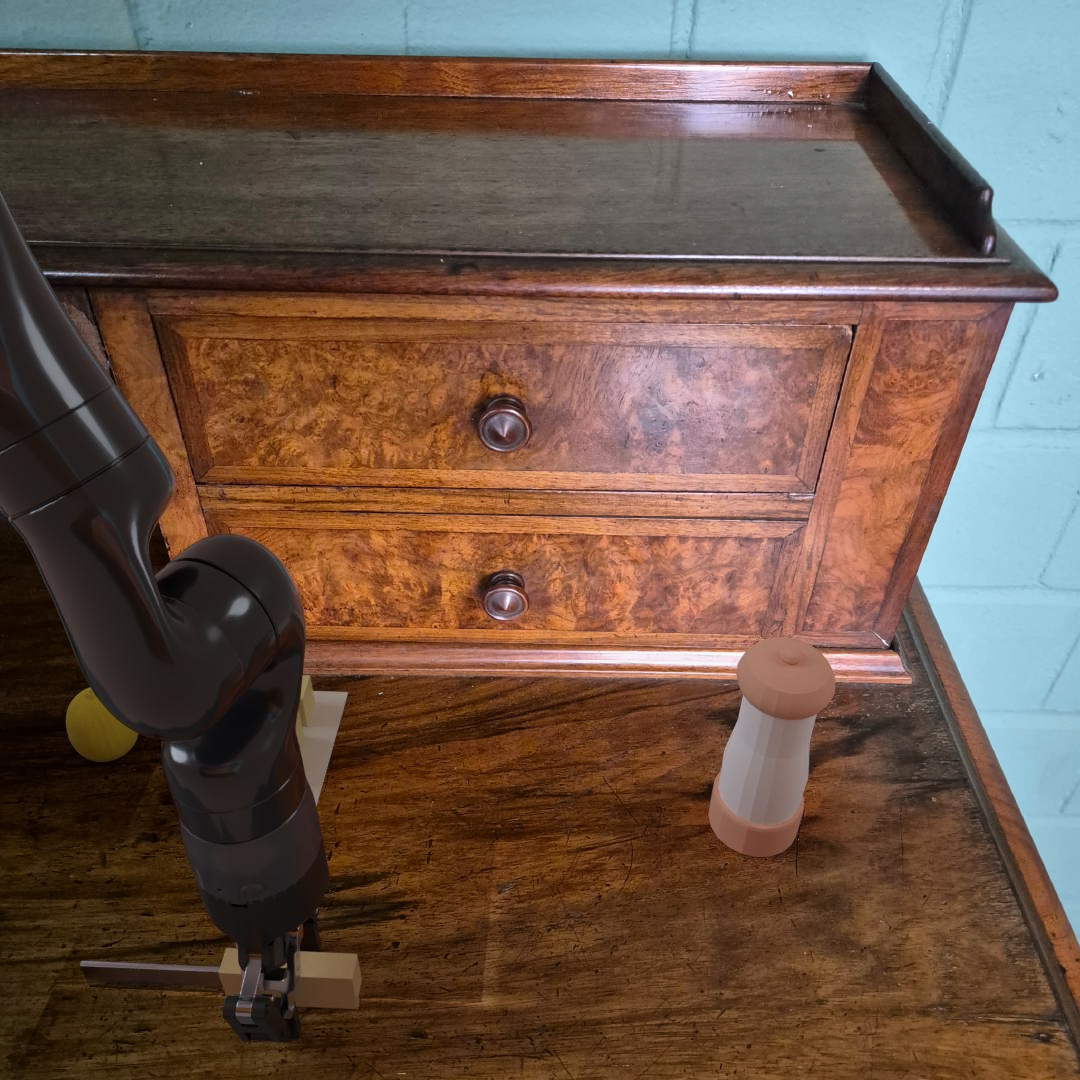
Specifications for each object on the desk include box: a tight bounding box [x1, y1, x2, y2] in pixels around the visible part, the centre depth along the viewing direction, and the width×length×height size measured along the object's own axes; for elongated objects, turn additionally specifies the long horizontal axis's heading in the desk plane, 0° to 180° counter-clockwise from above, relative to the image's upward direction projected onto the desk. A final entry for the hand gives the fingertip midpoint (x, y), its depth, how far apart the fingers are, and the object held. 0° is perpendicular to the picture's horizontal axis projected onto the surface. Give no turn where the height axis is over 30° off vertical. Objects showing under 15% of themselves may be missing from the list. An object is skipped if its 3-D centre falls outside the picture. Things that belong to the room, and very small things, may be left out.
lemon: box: [65, 686, 139, 763], centre depth 81 cm, size 6×6×8 cm
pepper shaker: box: [707, 636, 836, 858], centre depth 73 cm, size 7×7×19 cm
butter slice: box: [298, 674, 315, 726], centre depth 85 cm, size 4×3×4 cm, turn 88°
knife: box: [79, 947, 363, 1010], centre depth 65 cm, size 19×2×4 cm, turn 88°
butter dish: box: [300, 690, 349, 808], centre depth 83 cm, size 10×13×1 cm
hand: (295, 990), depth 66 cm, fingers open, 5 cm apart
